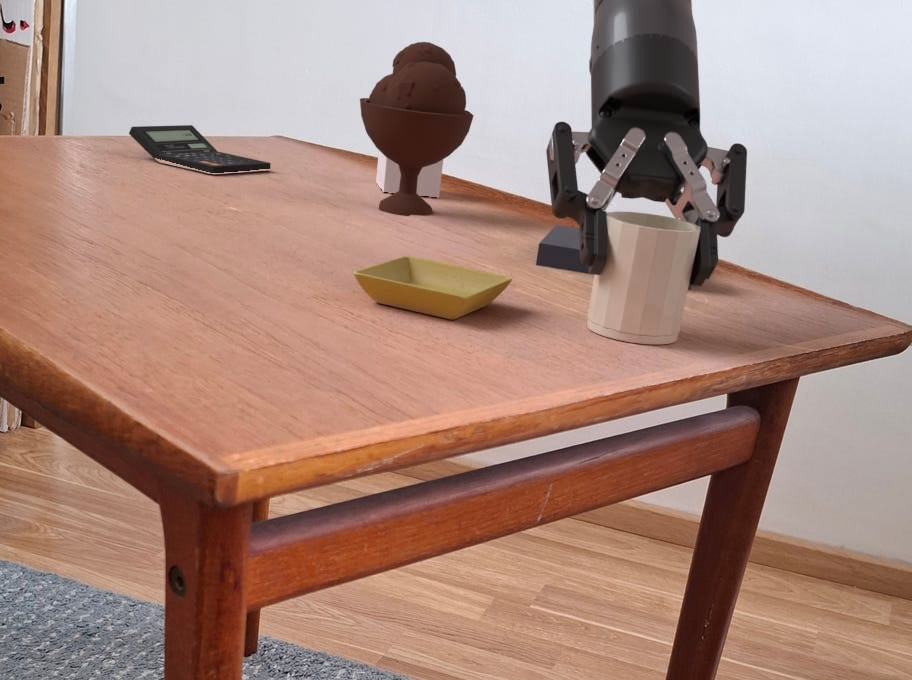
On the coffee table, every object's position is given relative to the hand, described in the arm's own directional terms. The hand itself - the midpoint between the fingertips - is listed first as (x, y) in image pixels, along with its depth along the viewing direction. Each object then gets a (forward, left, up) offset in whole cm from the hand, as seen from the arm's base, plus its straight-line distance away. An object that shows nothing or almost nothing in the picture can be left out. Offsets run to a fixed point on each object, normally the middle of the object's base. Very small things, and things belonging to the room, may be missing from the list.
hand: (649, 273), depth 83 cm
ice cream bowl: (+25, -38, -5) cm, 46 cm away
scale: (+3, -26, -4) cm, 26 cm away
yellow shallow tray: (+14, 0, -5) cm, 15 cm away
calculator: (+50, -47, -5) cm, 69 cm away
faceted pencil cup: (0, -2, -4) cm, 5 cm away
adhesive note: (+28, -51, -5) cm, 58 cm away
